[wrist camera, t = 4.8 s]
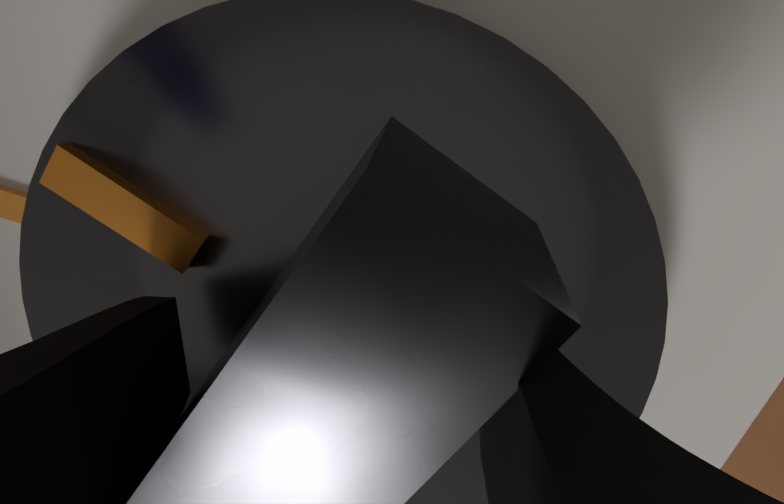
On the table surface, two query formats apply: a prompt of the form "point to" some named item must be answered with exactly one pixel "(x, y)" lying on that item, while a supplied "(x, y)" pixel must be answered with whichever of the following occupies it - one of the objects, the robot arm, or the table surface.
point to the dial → (345, 243)
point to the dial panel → (614, 109)
